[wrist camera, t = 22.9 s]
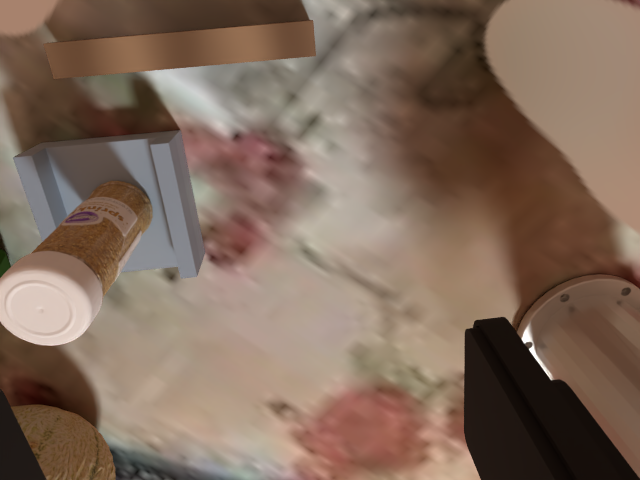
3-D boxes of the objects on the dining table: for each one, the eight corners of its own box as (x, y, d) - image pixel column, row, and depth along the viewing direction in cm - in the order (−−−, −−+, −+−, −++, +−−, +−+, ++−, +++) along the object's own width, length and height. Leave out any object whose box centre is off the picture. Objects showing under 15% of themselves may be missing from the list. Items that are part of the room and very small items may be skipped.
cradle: (180, 130, 35) (168, 143, 31) (204, 252, 39) (197, 276, 36) (41, 142, 35) (12, 157, 31) (80, 265, 39) (60, 290, 35)
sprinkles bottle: (137, 171, 34) (61, 256, 22) (164, 227, 36) (107, 334, 24) (77, 189, 34) (-33, 284, 22) (106, 245, 36) (21, 360, 24)
